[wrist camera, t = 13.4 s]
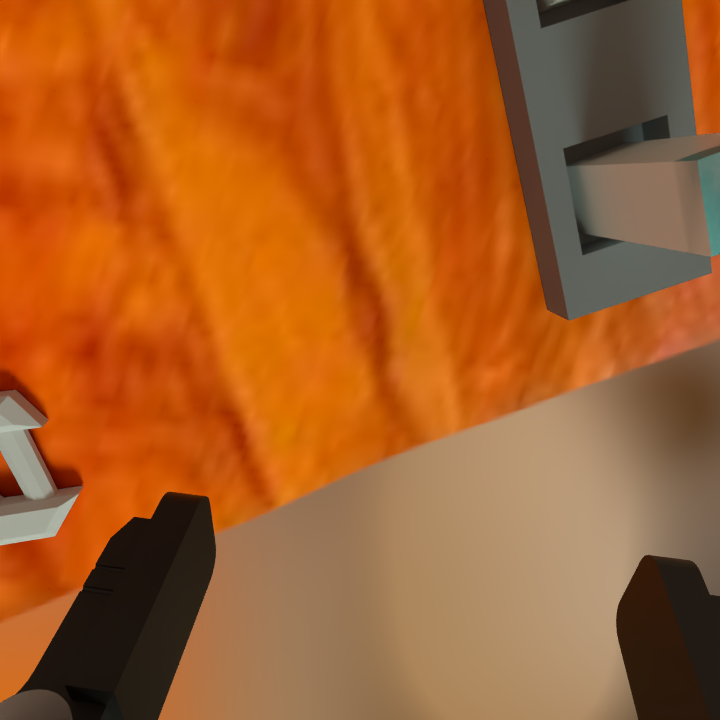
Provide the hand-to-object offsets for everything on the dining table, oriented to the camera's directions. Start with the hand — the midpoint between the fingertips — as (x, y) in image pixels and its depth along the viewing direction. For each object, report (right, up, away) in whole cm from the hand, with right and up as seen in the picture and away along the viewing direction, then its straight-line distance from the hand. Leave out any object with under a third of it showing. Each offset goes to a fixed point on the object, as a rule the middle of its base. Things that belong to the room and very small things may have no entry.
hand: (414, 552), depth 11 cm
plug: (+13, +14, +24) cm, 31 cm away
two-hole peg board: (+12, +19, +23) cm, 32 cm away
